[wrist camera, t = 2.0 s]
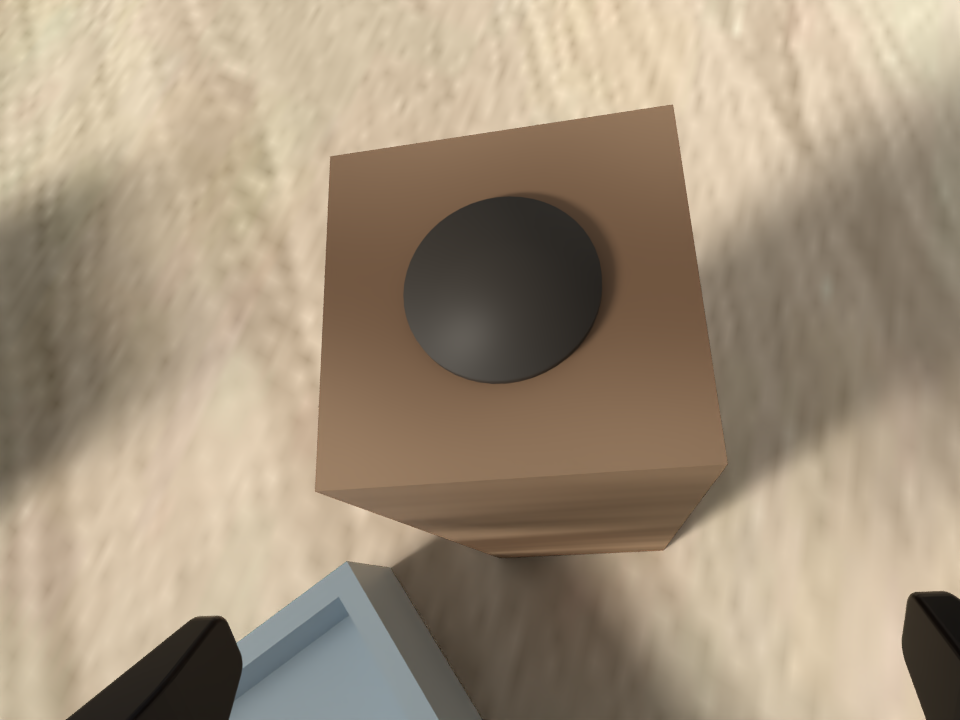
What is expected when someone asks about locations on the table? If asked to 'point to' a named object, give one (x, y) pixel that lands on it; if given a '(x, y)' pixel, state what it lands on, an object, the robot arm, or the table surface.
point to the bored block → (519, 339)
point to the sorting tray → (348, 657)
